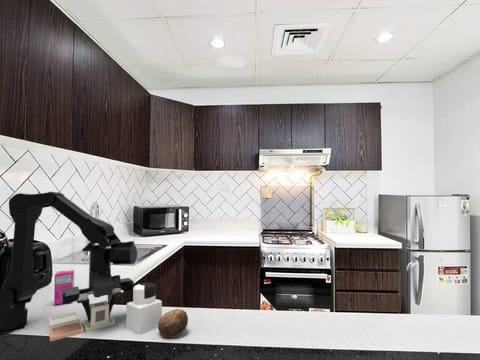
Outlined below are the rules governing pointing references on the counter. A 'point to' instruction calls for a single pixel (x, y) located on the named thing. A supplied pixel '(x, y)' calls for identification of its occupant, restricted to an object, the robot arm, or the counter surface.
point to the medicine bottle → (143, 309)
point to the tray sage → (88, 328)
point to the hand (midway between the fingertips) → (98, 319)
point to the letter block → (99, 313)
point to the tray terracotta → (66, 330)
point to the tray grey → (63, 319)
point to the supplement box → (62, 285)
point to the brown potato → (173, 323)
